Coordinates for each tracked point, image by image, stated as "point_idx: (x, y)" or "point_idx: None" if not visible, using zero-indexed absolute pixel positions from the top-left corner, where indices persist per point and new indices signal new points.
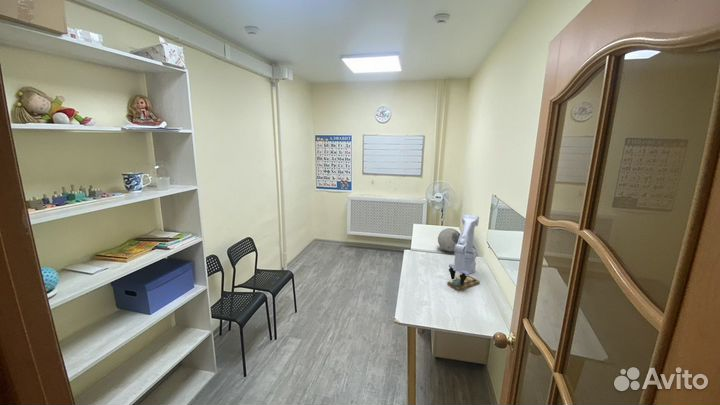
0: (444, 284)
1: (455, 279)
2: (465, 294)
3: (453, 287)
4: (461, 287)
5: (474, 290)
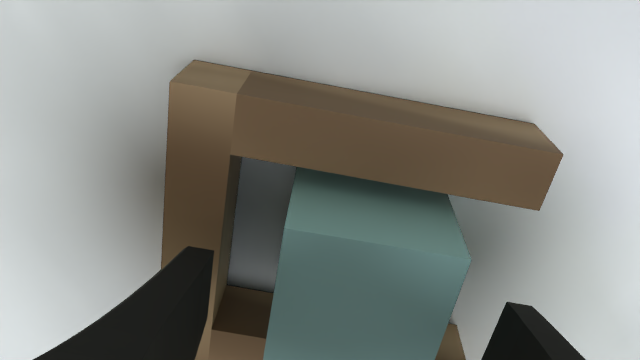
0: (606, 89)
1: (427, 344)
2: (23, 75)
3: (346, 96)
4: (168, 188)
5: (63, 331)
